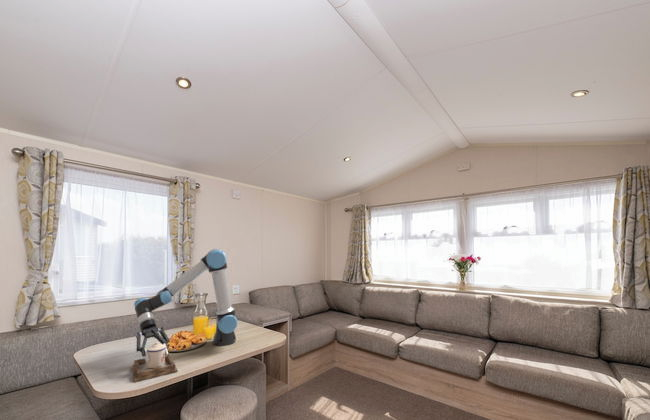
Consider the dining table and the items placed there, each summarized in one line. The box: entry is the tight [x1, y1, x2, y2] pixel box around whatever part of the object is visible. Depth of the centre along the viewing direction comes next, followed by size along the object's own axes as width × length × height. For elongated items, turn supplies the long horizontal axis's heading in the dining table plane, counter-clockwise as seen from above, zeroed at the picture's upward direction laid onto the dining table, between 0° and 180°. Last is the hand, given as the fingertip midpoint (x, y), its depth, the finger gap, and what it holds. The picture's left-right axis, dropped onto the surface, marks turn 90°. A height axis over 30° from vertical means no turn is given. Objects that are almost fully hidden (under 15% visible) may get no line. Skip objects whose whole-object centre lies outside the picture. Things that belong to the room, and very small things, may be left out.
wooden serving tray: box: [131, 352, 179, 383], centre depth 158 cm, size 19×22×4 cm
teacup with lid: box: [146, 341, 166, 368], centre depth 160 cm, size 12×9×12 cm
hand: (157, 358), depth 157 cm, fingers closed on teacup with lid, 9 cm apart
